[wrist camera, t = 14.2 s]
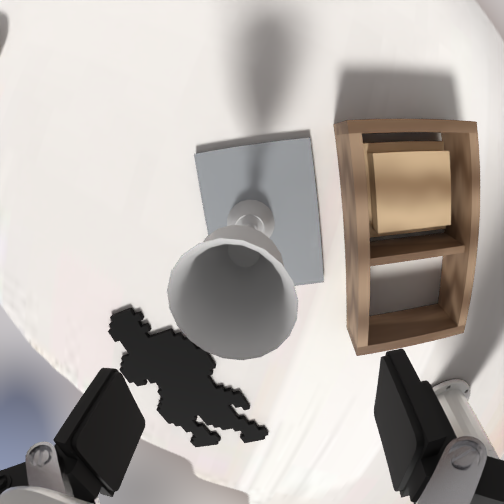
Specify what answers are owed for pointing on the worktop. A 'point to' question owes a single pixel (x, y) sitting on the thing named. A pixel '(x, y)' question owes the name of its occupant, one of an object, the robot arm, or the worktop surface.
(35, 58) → the worktop surface
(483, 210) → the worktop surface
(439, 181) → the oak offcut top
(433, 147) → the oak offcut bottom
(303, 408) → the worktop surface
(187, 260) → the chalice
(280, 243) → the slate mat
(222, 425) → the black silhouette cutout
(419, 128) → the walnut crate
